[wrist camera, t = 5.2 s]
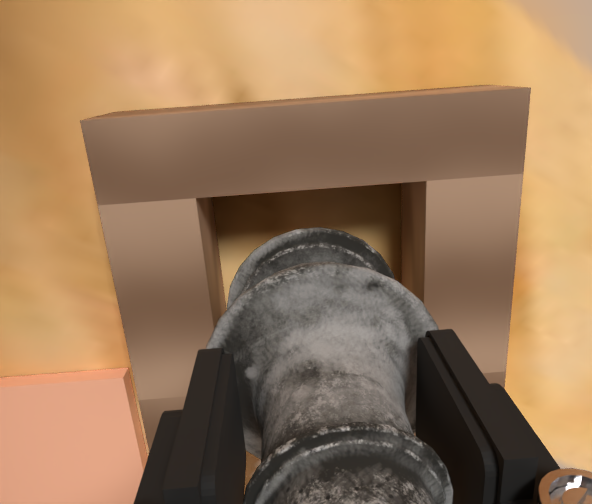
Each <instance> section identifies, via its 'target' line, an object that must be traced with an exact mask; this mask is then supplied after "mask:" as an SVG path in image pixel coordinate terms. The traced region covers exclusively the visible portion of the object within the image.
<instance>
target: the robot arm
mask: <svg viewBox="0 0 592 504" xmlns="http://www.w3.org/2000/svg"><path fill="white" fill-rule="evenodd" d="M415 434H416V437H417V438H419V439H420V440H422V441H423V442H424V443H426V444H427V445H429V446H430V447H431V448H433V450H434V451H435V452H436V454H437V455H438V456H439V458H440V459H441V460H442V462H443V463H444V464H445V466H446V468H447V470H448V474H449V477H450V480H451V484H452V487H453V504H592V472H589V471H586V470H580V469H574V468H565V469H560V467H559V466H558V464H557V463H556V462H555V460H554V459H553V457H552V456H551V455H550V453H549V452H548V450H547V449H546V447H545V446H544V445H543V443H542V442H541V440H540V439H539V438H538V436H537V435H536V433H535V432H534V430H533V429H532V428H531V426H530V425H529V423H528V422H527V421H526V419H525V418H524V416H523V415H522V413H521V412H520V411H519V409H518V408H517V406H516V405H515V404H514V402H513V401H512V399H511V398H510V396H509V395H508V394H507V392H506V391H505V389H504V388H503V387H502V386H501V385H500V384H497V383H491V384H489V382H488V381H487V379H486V378H485V376H484V375H483V373H482V372H481V371H480V369H479V368H478V366H477V365H476V363H475V362H474V360H473V359H472V357H471V356H470V354H469V353H468V351H467V350H466V348H465V347H464V345H463V344H462V342H461V341H460V339H459V338H458V336H457V335H456V333H455V332H454V331H453V330H452V329H442V330H430V331H427V332H426V334H425V337H422V338H419V339H418V343H417V383H416V426H415ZM245 470H246V448H245V440H244V432H243V425H242V417H241V409H240V402H239V394H238V386H237V379H236V371H235V363H234V356H233V353H227V354H225V352H224V349H223V348H211V349H199V350H198V352H197V356H196V360H195V364H194V368H193V372H192V376H191V380H190V383H189V387H188V391H187V395H186V399H185V403H184V407H183V409H182V410H170V411H164V412H163V413H162V415H161V418H160V421H159V424H158V427H157V430H156V433H155V437H154V440H153V443H152V446H151V449H150V453H149V456H148V459H147V462H146V465H145V469H144V472H143V475H142V478H141V481H140V485H139V488H138V491H137V494H136V497H135V501H134V504H243V500H244V485H245Z"/></svg>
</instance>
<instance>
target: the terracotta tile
mask: <svg viewBox="0 0 592 504" xmlns="http://www.w3.org/2000/svg"><path fill="white" fill-rule="evenodd" d="M147 459H148V458H147V453H146V449H145V444H144V439H143V434H142V430H141V425H140V420H139V416H138V411H137V406H136V401H135V397H134V392H133V387H132V383H131V378H130V373H129V368H117V369H104V370H91V371H78V372H65V373H52V374H39V375H27V376H14V377H1V378H0V504H134V501H135V497H136V494H137V491H138V488H139V485H140V481H141V478H142V475H143V472H144V469H145V465H146V462H147Z"/></svg>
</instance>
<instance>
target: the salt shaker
mask: <svg viewBox="0 0 592 504" xmlns="http://www.w3.org/2000/svg"><path fill="white" fill-rule="evenodd" d="M430 330H439V328H438V325H437V324H436V322H435V321H434V319H433V318H432V316H431V315H430V313H429V312H428V310H427V309H426V307H425V306H424V304H423V303H422V301H421V300H420V299H419V298H418V297H416V296H415V295H414V294H413V293H412V292H410V291H409V290H408V289H407V288H405V287H404V286H403V285H402V284H401V283H399V282H398V281H396V280H395V278H394V275H393V272H392V271H391V269H390V268H389V266H388V265H387V263H386V262H385V260H384V259H383V257H382V256H381V255H380V254H379V253H378V252H377V251H376V250H374V249H373V248H372V247H371V246H370V245H368V244H367V243H366V242H365V241H364V240H361V239H359V238H357V237H355V236H353V235H350V234H348V233H346V232H344V231H339V230H333V229H327V228H321V227H318V228H306V229H296V230H293V231H290V232H287V233H284V234H281V235H278V236H276V237H273V238H272V239H270V240H269V241H267V242H266V243H264V244H263V245H261V246H260V247H258V248H257V249H255V250H254V251H253V252H252V253H251V254H250V255H249V257H248V258H247V259H246V260H245V261H244V262H243V263H242V265H241V266H240V267H239V269H238V271H237V273H236V275H235V277H234V279H233V281H232V284H231V286H230V290H229V297H228V303H227V310H226V311H225V313H224V314H223V315H222V316H221V317H220V318H219V320H218V322H217V324H216V326H215V328H214V331H213V333H212V335H211V337H210V339H209V341H208V343H207V346H206V349H211V348H223V349H224V352H225V354H227V353H233V356H234V363H235V371H236V379H237V386H238V394H239V402H240V409H241V417H242V425H243V432H244V440H245V448H246V451H248V452H249V453H251V454H253V455H254V456H256V457H257V458H259V459H261V464H260V465H259V466H258V467H257V469H256V471H255V473H254V474H253V476H252V478H251V479H250V481H249V483H248V485H247V486H246V490H245V495H244V500H243V504H453V487H452V484H451V480H450V477H449V474H448V470H447V468H446V466H445V464H444V463H443V462H442V460H441V459H440V458H439V456H438V455H437V454H436V452H435V451H434V450H433V448H431V447H430V446H429V445H427V444H426V443H424V442H423V441H422V440H420V439H419V438H417V437H416V436H415V435H414V433H415V426H416V383H417V343H418V339H419V338H422V337H425V334H426V332H427V331H430Z"/></svg>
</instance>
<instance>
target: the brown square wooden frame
mask: <svg viewBox="0 0 592 504" xmlns="http://www.w3.org/2000/svg"><path fill="white" fill-rule="evenodd" d="M530 92H531V88H528V87H512V86H496V85H479V86H465V87H451V88H437V89H424V90H410V91H396V92H382V93H369V94H355V95H341V96H328V97H314V98H300V99H286V100H273V101H259V102H245V103H232V104H218V105H204V106H190V107H177V108H163V109H149V110H135V111H122V112H113V113H109V114H105V115H101V116H97V117H93V118H89V119H85V120H80V123H81V128H82V132H83V137H84V142H85V147H86V152H87V156H88V161H89V166H90V171H91V175H92V180H93V185H94V190H95V194H96V199H97V204H98V209H99V214H100V218H101V223H102V228H103V233H104V237H105V242H106V247H107V252H108V257H109V261H110V266H111V271H112V276H113V280H114V285H115V290H116V295H117V299H118V304H119V309H120V314H121V319H122V323H123V328H124V333H125V338H126V342H127V347H128V352H129V357H130V362H131V366H132V371H133V376H134V381H135V385H136V390H137V395H138V400H139V404H140V409H141V414H142V419H143V424H144V428H145V433H146V438H147V443H148V447H149V452H150V449H151V446H152V443H153V440H154V437H155V433H156V430H157V427H158V424H159V421H160V418H161V415H162V413H163V412H164V411H170V410H182V409H183V407H184V403H185V399H186V395H187V391H188V387H189V383H190V380H191V376H192V372H193V368H194V364H195V360H196V356H197V352H198V350H199V349H206V346H207V343H208V341H209V339H210V337H211V335H212V333H213V331H214V328H215V326H216V324H217V322H218V320H219V318H220V317H221V316H222V315H223V314H224V313H225V311H226V302H225V295H224V287H223V279H222V271H221V263H220V256H219V248H218V240H217V232H216V225H215V217H214V209H213V201H212V197H219V196H232V195H245V194H259V193H272V192H286V191H299V190H313V189H326V188H339V187H353V186H366V185H380V184H393V183H402V220H401V284H402V285H403V286H404V287H405V288H407V289H408V290H409V291H410V292H412V293H413V294H414V295H415V296H416V297H418V298H419V299H420V300H421V301H422V303H423V304H424V306H425V307H426V309H427V310H428V312H429V313H430V315H431V316H432V318H433V319H434V321H435V322H436V324H437V325H438V328H439V330H442V329H452V330H453V331H454V332H455V333H456V335H457V336H458V338H459V339H460V341H461V342H462V344H463V345H464V347H465V348H466V350H467V351H468V353H469V354H470V356H471V357H472V359H473V360H474V362H475V363H476V365H477V366H478V368H479V369H480V371H481V372H482V373H483V375H484V376H485V378H486V379H487V381H488V382H489V384H491V383H497V384H500V385H501V386H502V387H503V388H504V387H505V375H506V364H507V353H508V341H509V330H510V319H511V307H512V296H513V285H514V273H515V262H516V251H517V239H518V228H519V217H520V205H521V194H522V183H523V171H524V160H525V149H526V137H527V126H528V115H529V103H530ZM414 435H415V436H416V434H415V433H414Z"/></svg>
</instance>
